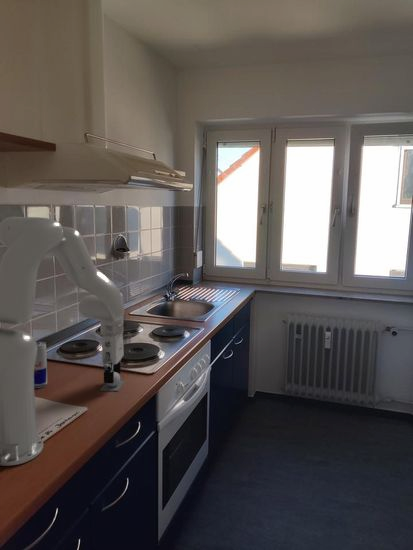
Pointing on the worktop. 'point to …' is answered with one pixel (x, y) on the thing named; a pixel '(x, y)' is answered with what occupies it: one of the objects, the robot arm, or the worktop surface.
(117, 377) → the garlic
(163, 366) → the worktop surface
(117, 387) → the coaster
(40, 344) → the white bottle
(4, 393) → the robot arm
